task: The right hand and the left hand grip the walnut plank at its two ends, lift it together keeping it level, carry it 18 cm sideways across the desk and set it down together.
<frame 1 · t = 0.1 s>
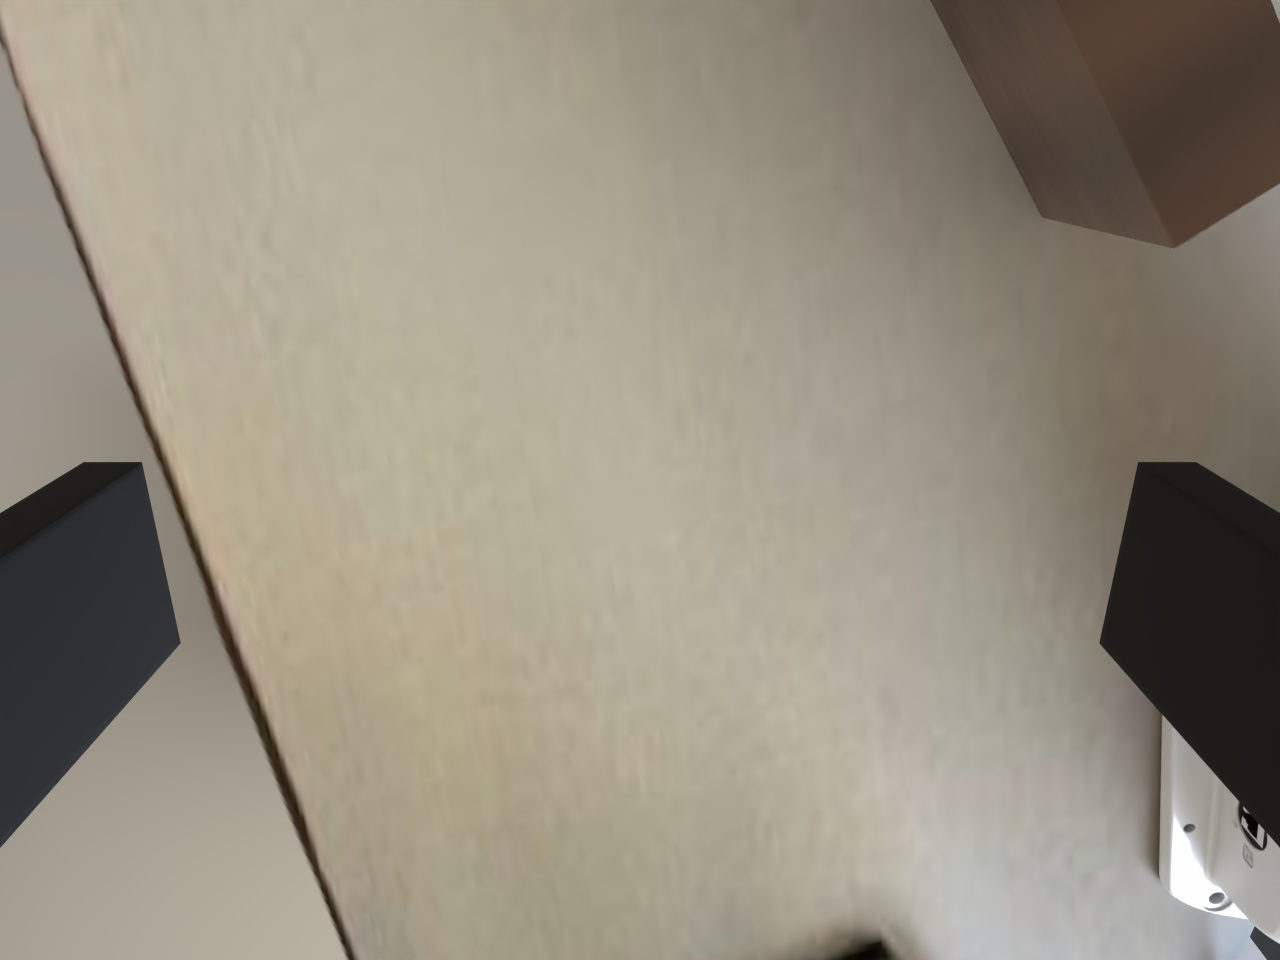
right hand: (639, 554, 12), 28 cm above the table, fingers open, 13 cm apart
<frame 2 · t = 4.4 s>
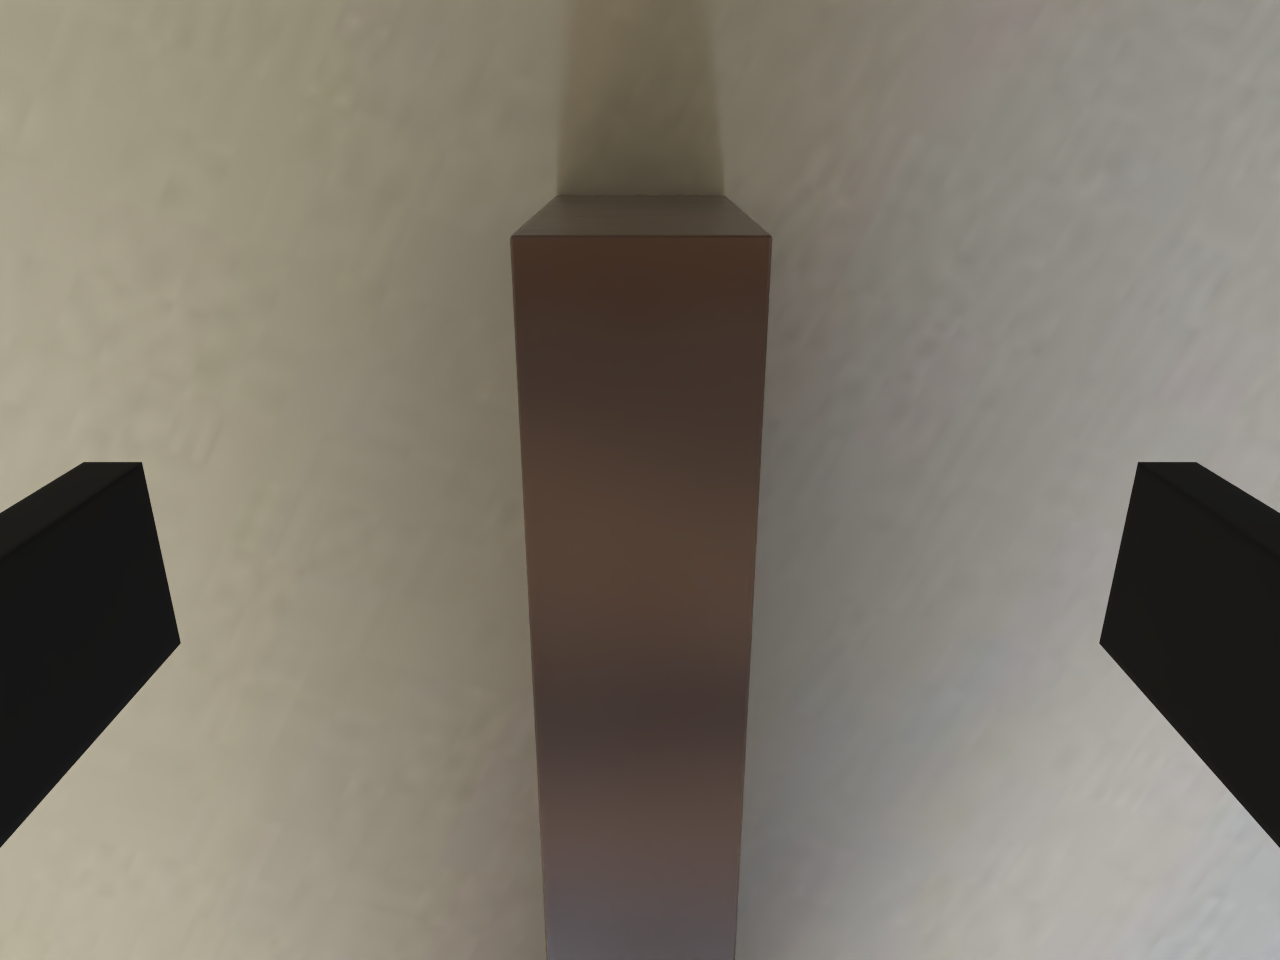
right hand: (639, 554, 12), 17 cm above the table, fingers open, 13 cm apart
plank: (640, 688, 33), on the table
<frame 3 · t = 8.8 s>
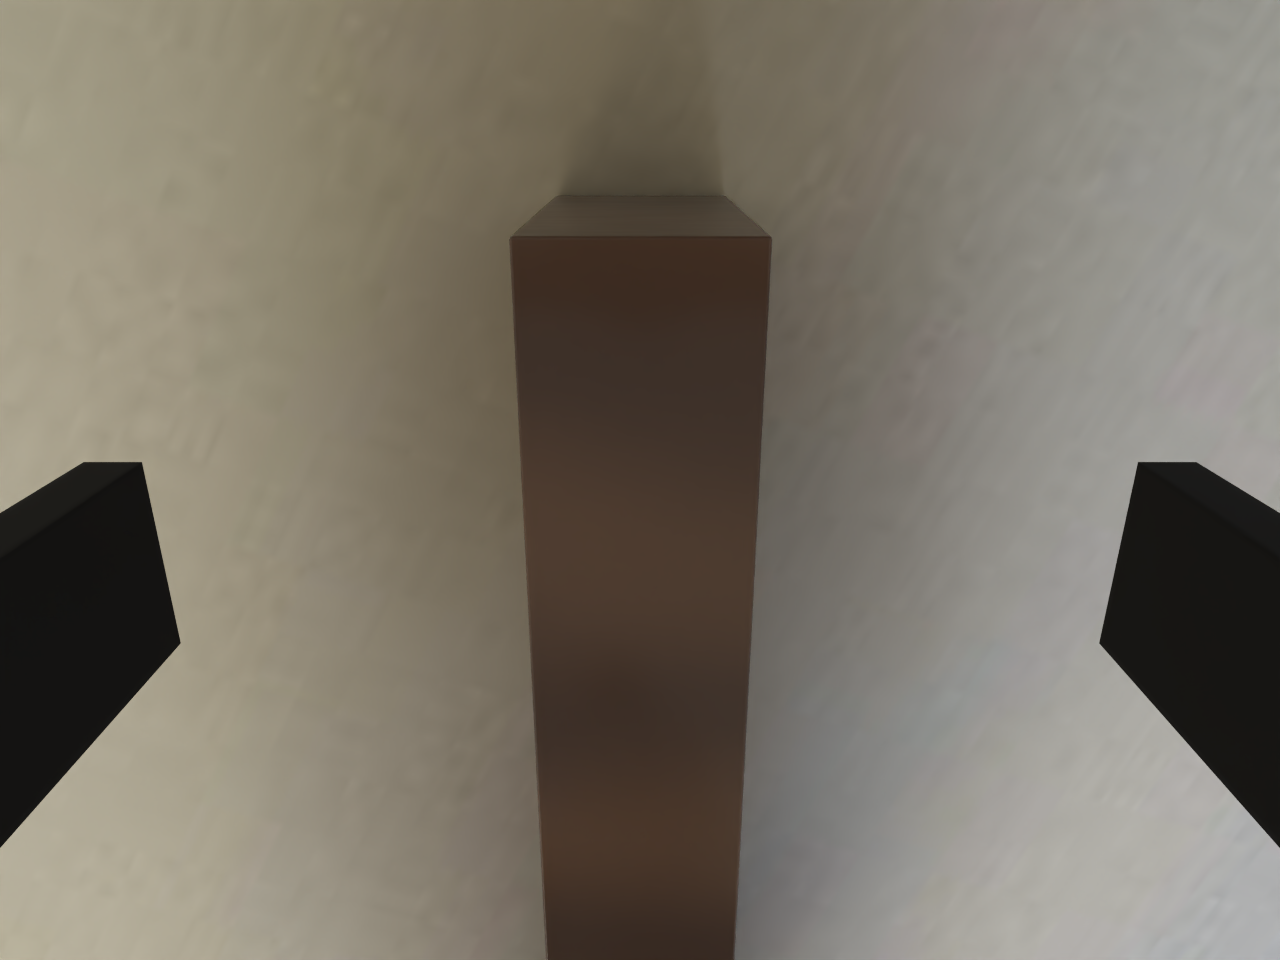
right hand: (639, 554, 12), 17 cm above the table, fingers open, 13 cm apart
plank: (640, 688, 33), on the table, touching left hand
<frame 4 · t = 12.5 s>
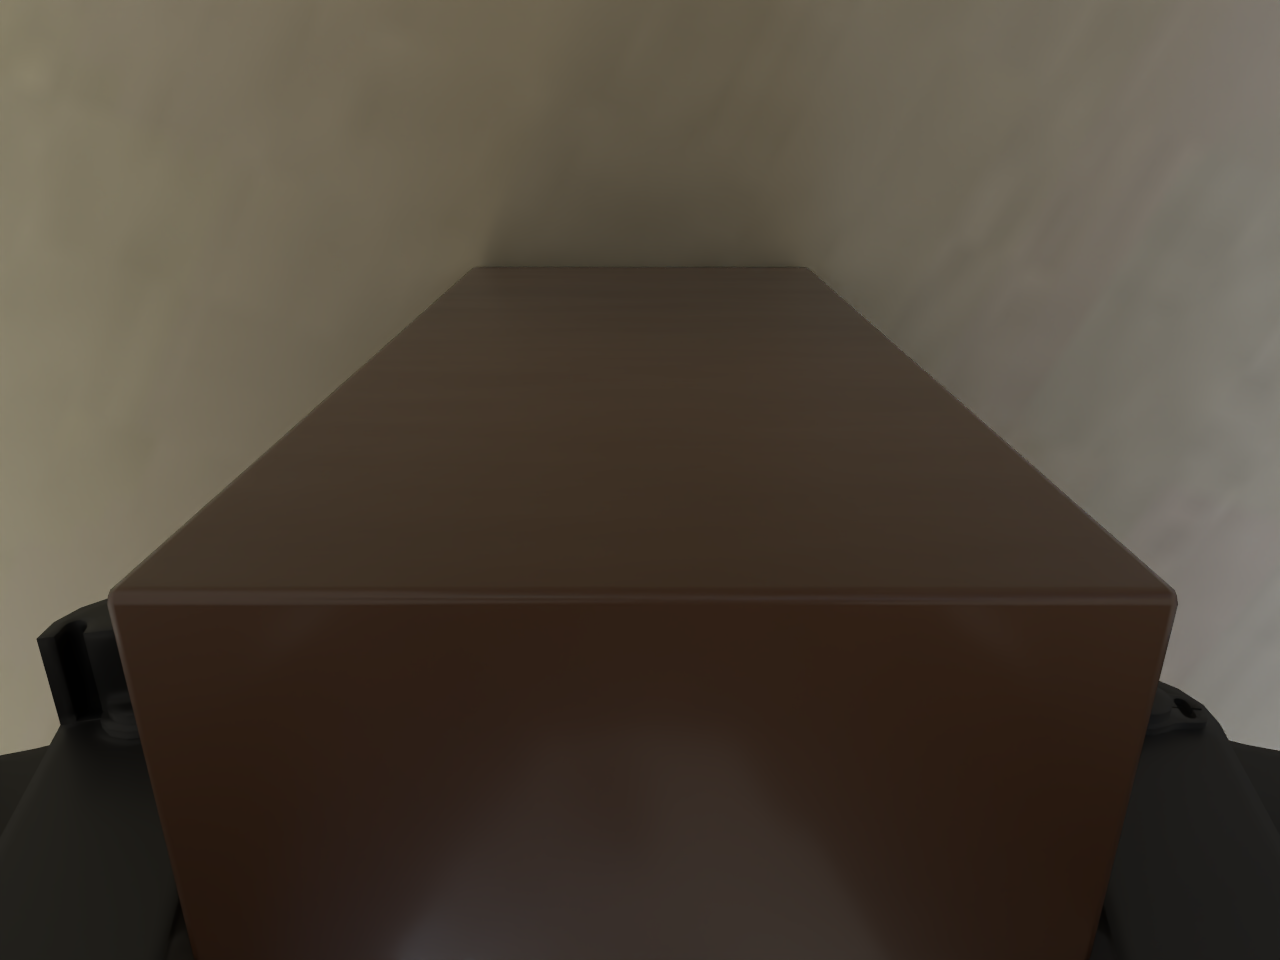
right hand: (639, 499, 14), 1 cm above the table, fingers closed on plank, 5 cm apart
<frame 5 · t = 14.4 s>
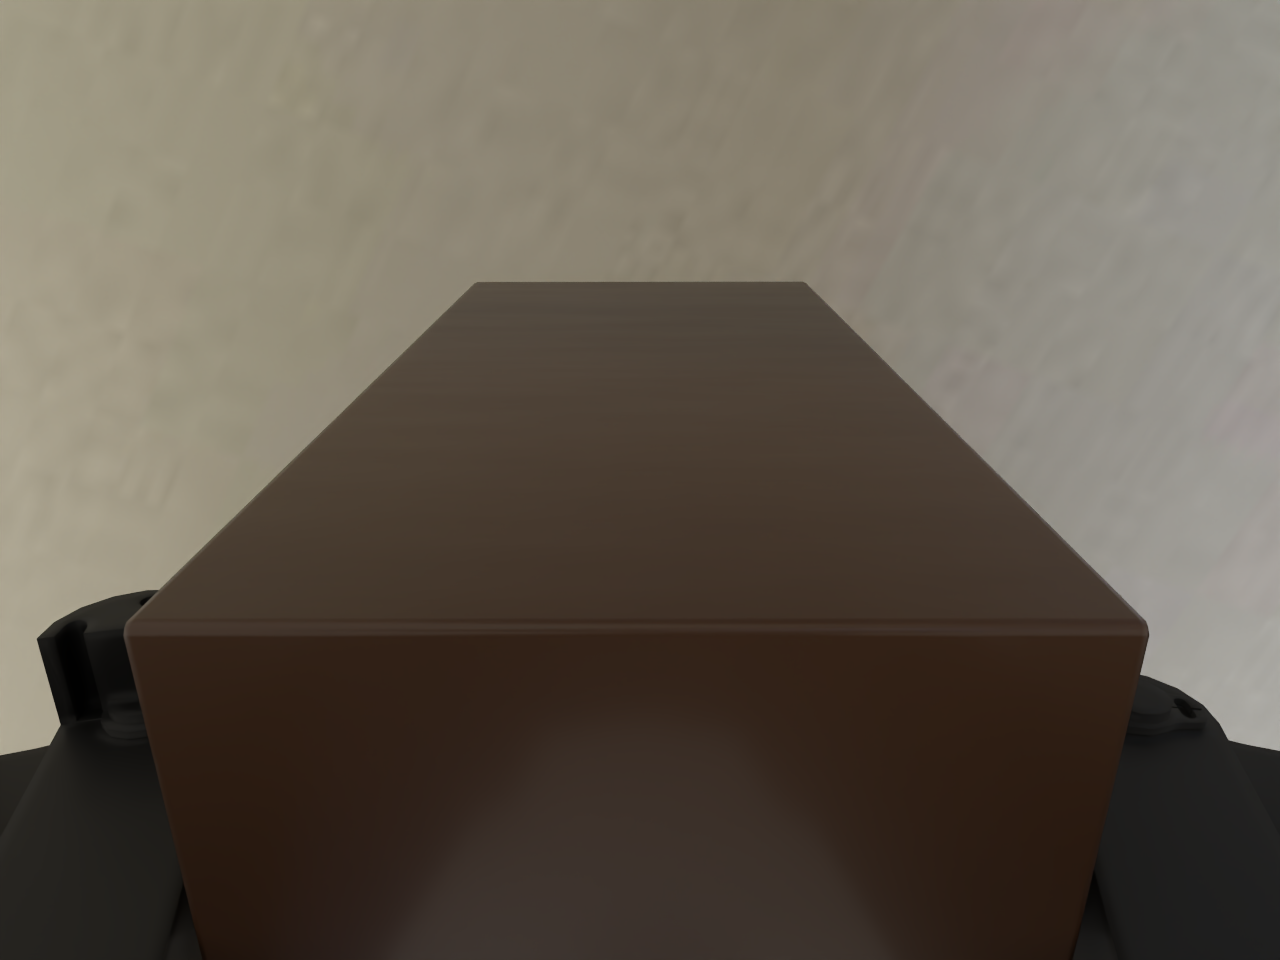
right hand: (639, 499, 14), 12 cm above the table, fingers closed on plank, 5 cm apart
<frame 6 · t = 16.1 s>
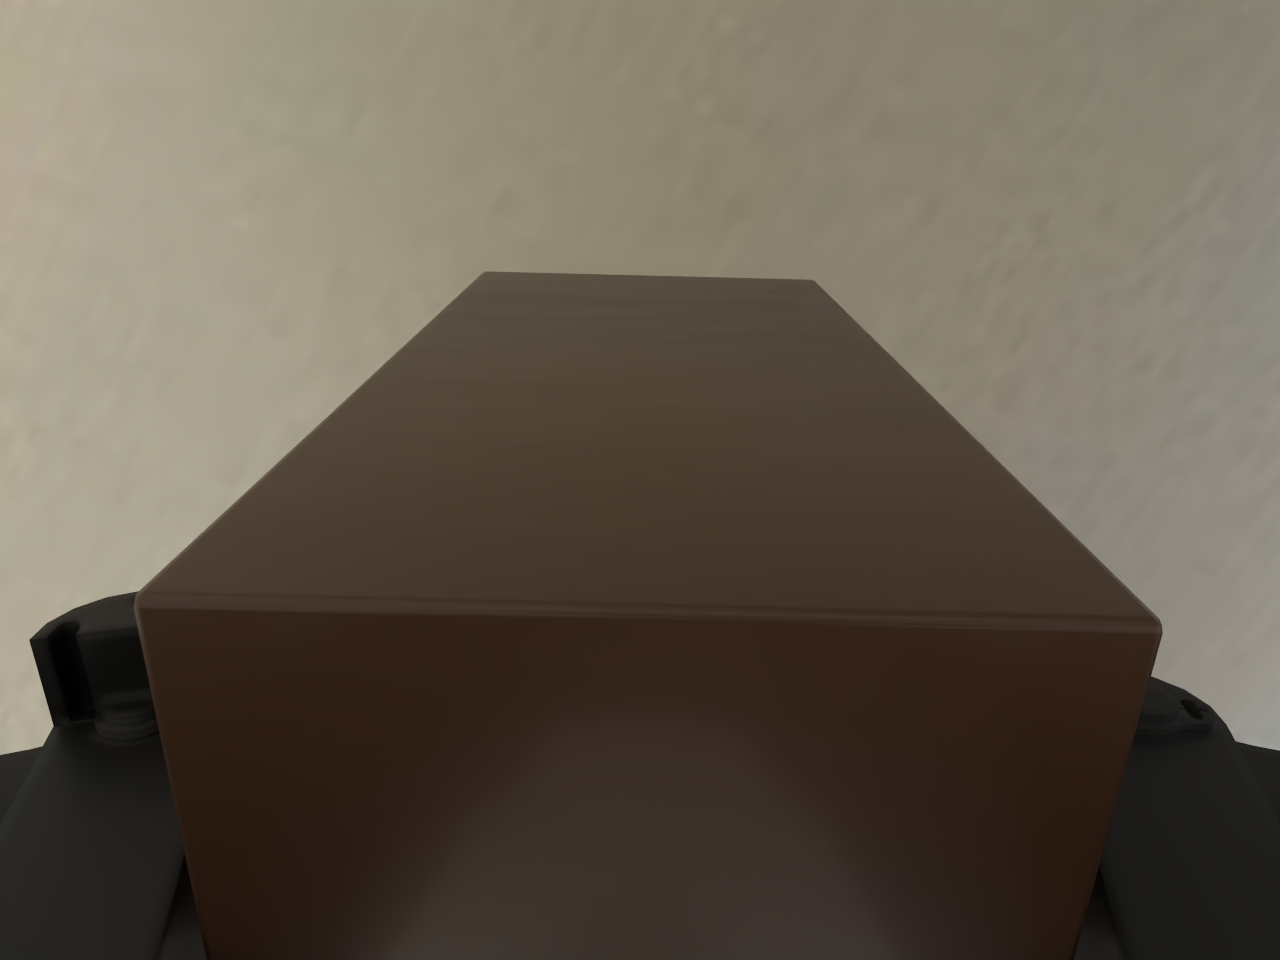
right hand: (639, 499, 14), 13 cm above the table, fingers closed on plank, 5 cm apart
when the right hand's fingers open (2 cm above the table, at t = 20.1 s): plank stays where it is, on the table.
when the left hand's fingers open (5 cm above the table, at t = 20.3 s): plank stays where it is, on the table.
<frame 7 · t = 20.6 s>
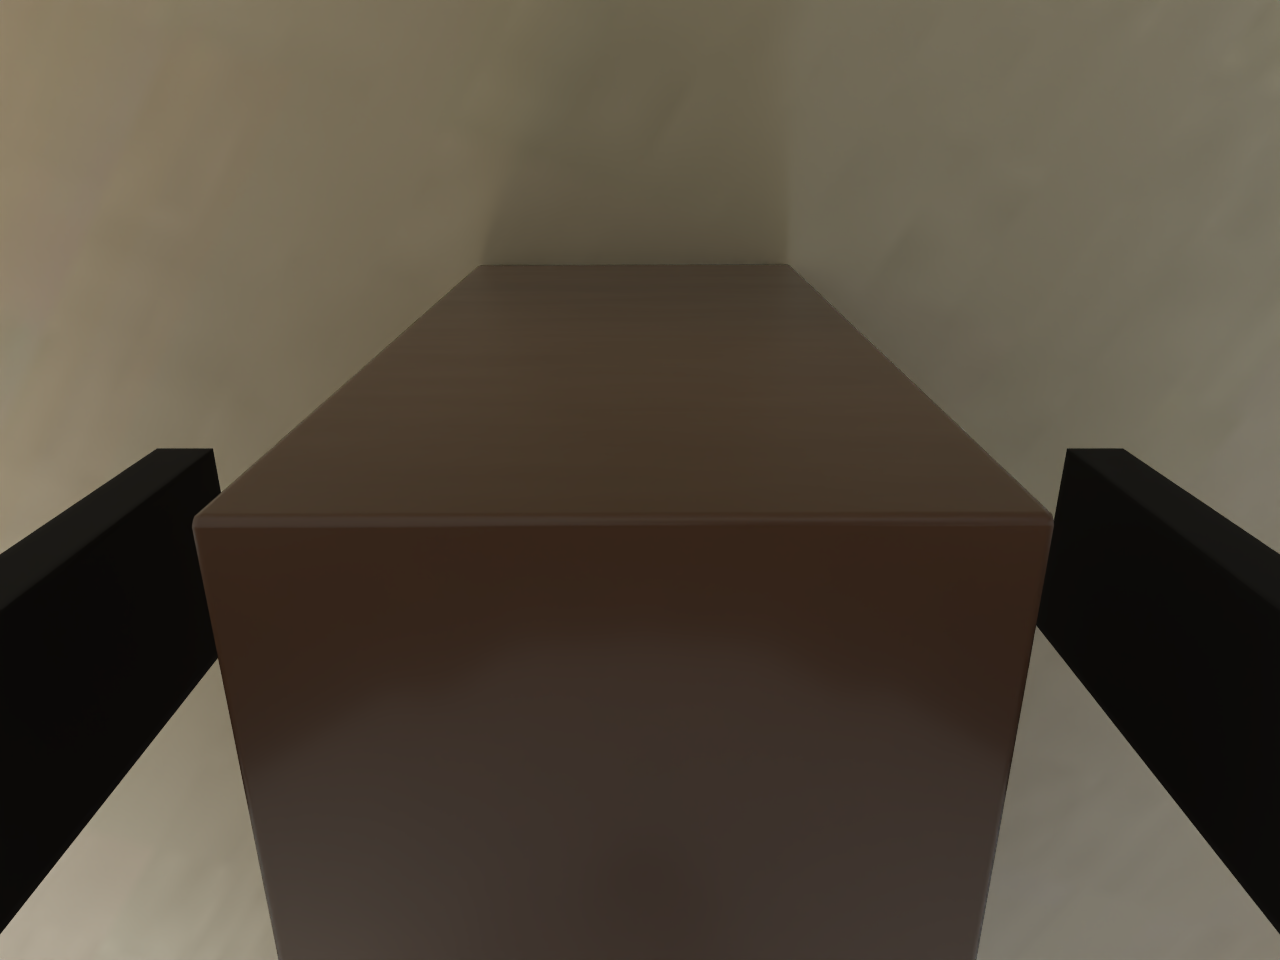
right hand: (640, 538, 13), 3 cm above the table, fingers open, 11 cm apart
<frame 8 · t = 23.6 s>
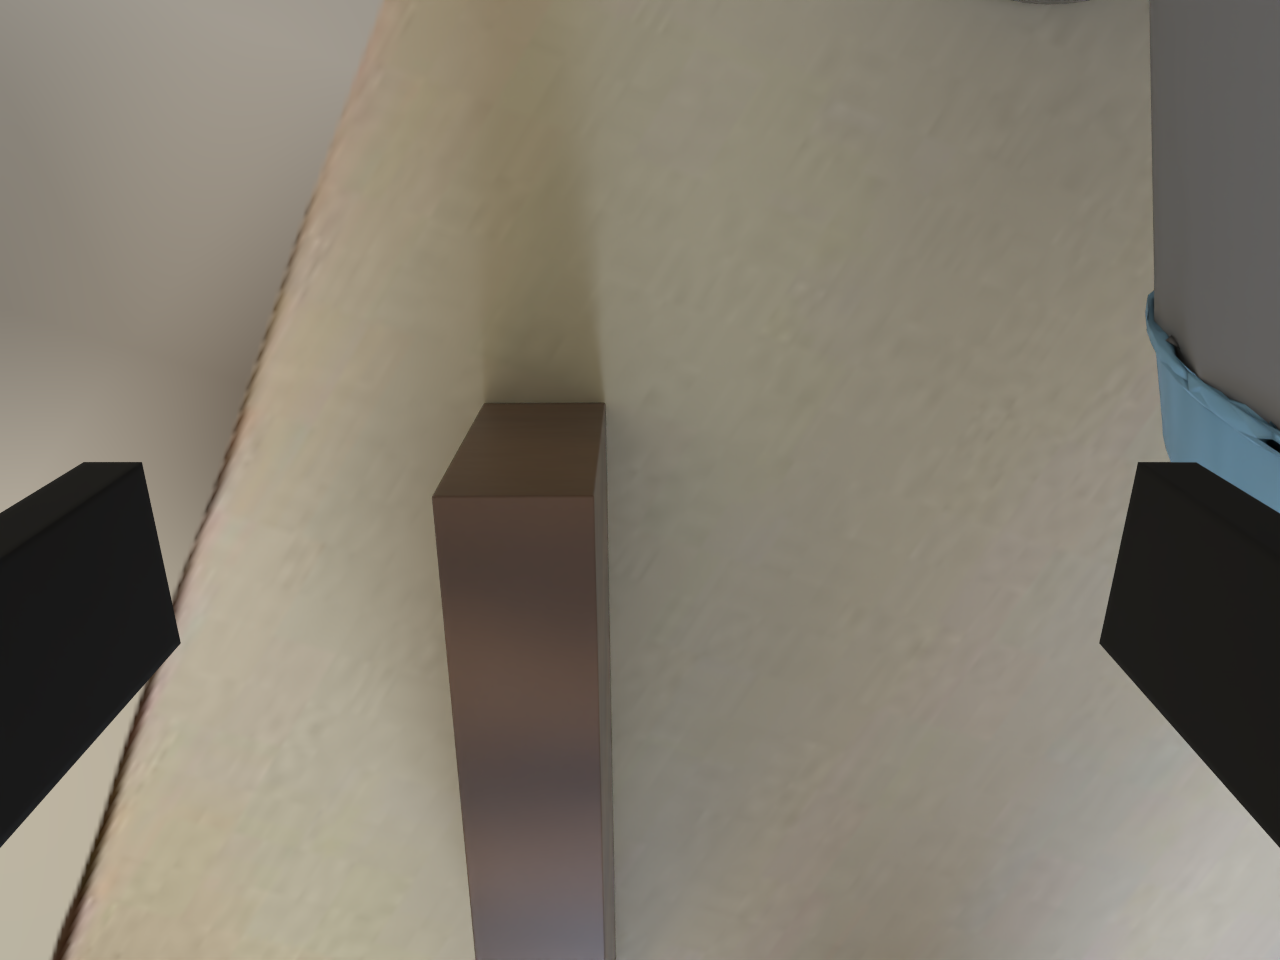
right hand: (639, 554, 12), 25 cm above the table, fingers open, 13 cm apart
plank: (559, 745, 43), on the table
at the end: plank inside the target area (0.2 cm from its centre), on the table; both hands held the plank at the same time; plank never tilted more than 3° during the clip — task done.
